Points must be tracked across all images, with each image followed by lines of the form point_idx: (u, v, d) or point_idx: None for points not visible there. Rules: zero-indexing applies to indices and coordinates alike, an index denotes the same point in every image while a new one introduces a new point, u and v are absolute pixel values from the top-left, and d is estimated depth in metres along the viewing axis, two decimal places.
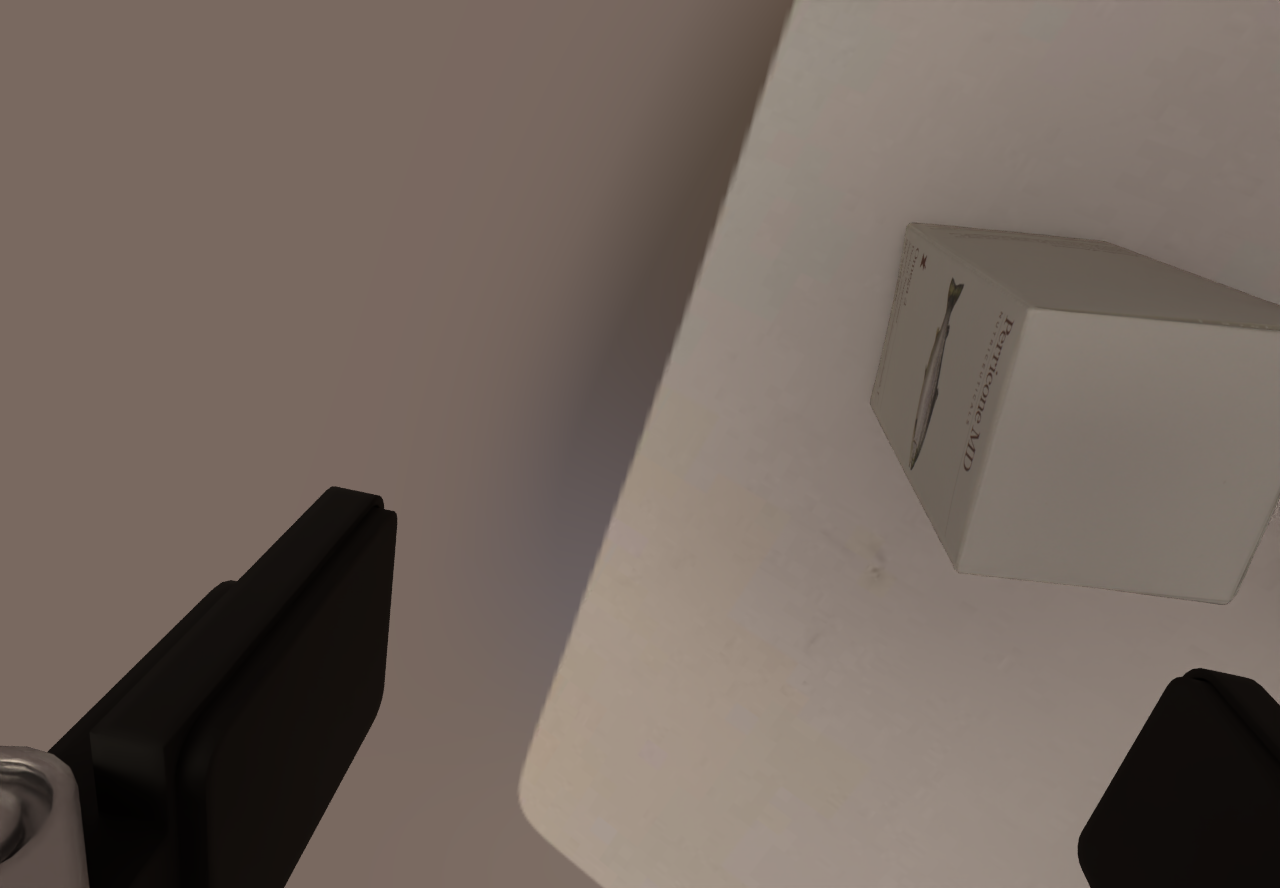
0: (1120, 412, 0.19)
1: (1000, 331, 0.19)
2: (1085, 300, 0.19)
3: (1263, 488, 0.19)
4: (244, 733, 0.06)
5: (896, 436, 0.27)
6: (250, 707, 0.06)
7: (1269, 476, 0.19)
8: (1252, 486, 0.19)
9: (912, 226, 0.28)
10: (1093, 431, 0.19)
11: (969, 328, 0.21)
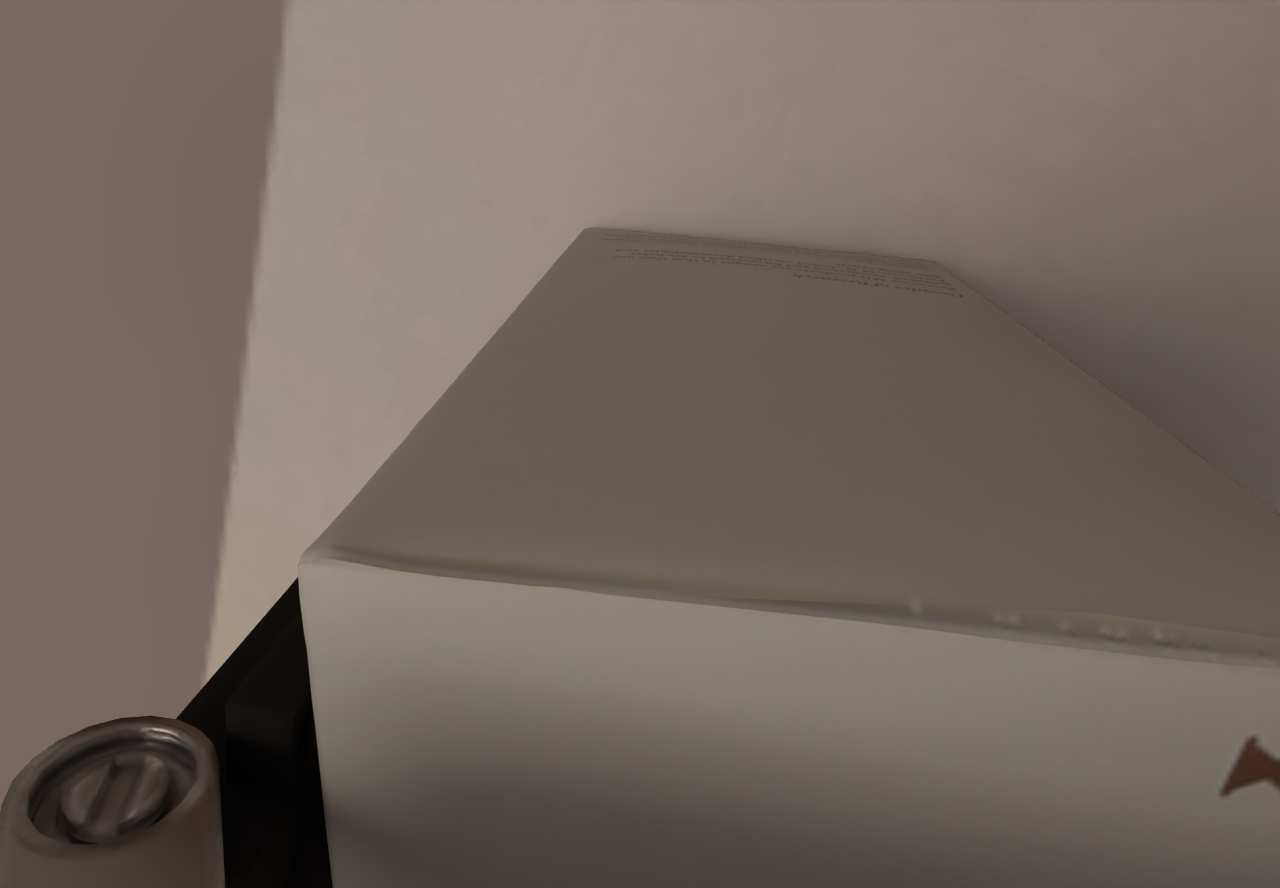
0: (686, 874, 0.06)
1: None
2: (573, 499, 0.06)
3: None
4: None
5: None
6: None
7: None
8: None
9: (579, 234, 0.15)
10: None
11: None
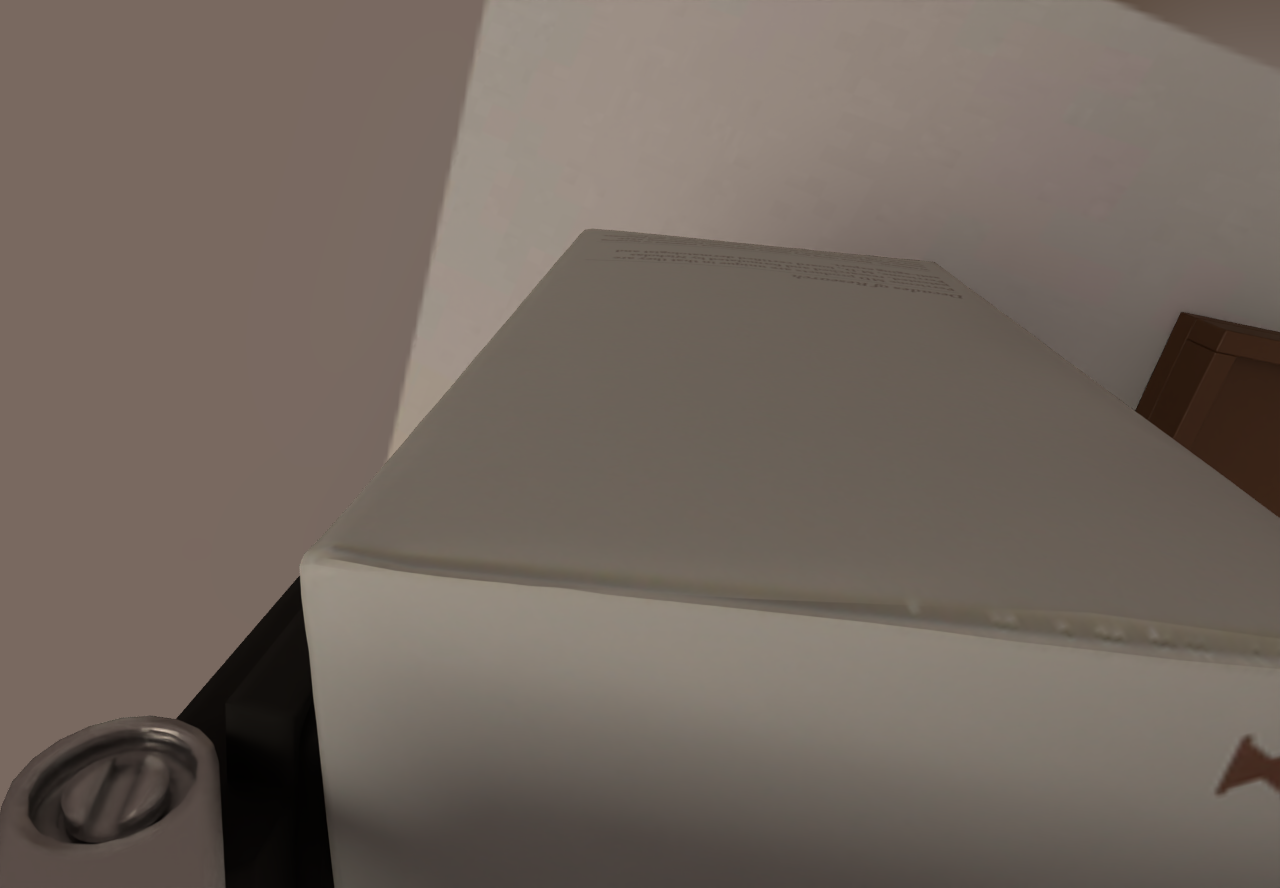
0: (684, 873, 0.06)
1: None
2: (573, 499, 0.06)
3: None
4: None
5: None
6: None
7: None
8: None
9: (579, 235, 0.15)
10: None
11: None
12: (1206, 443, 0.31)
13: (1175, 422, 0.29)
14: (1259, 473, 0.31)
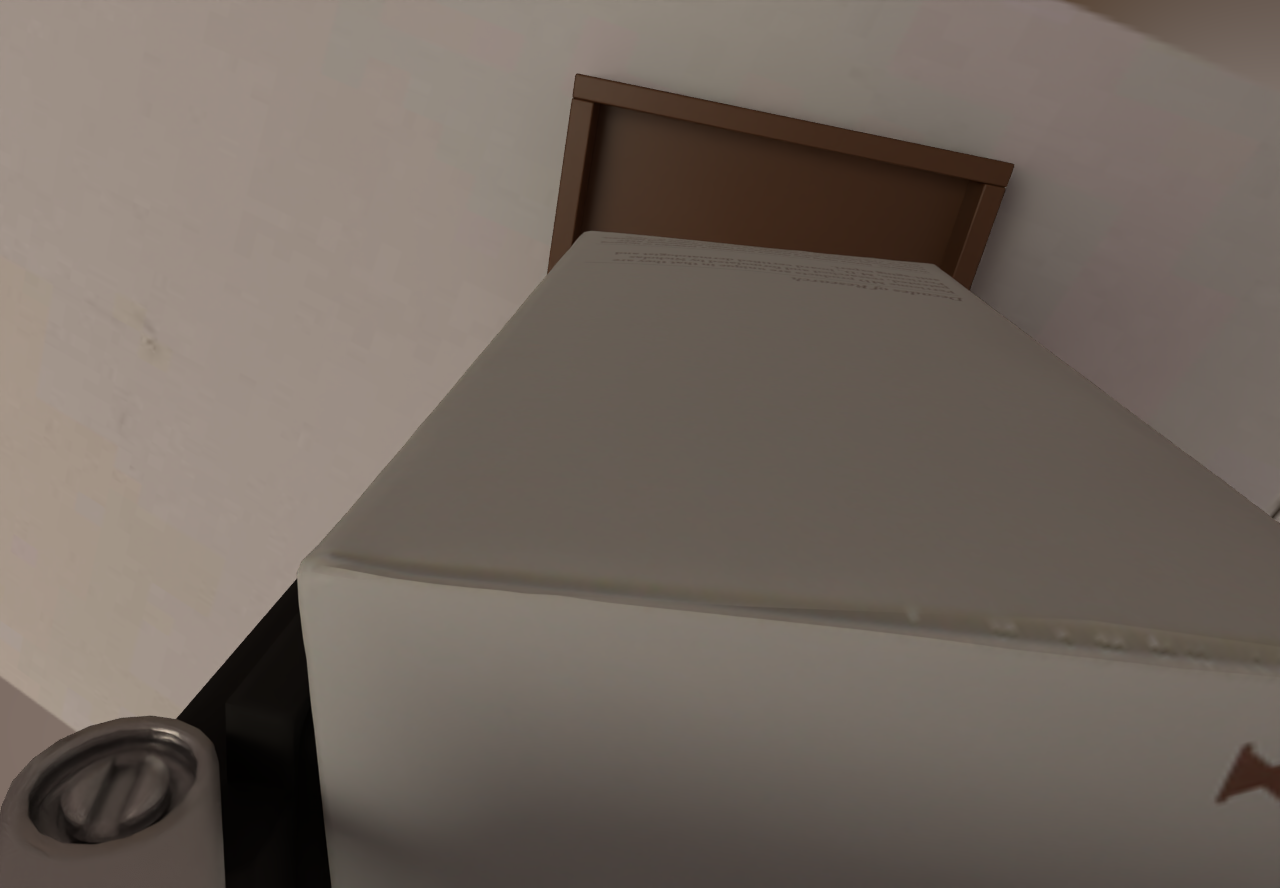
0: (684, 880, 0.06)
1: None
2: (571, 505, 0.06)
3: None
4: None
5: None
6: None
7: None
8: None
9: None
10: None
11: None
12: (627, 212, 0.31)
13: (561, 178, 0.29)
14: None
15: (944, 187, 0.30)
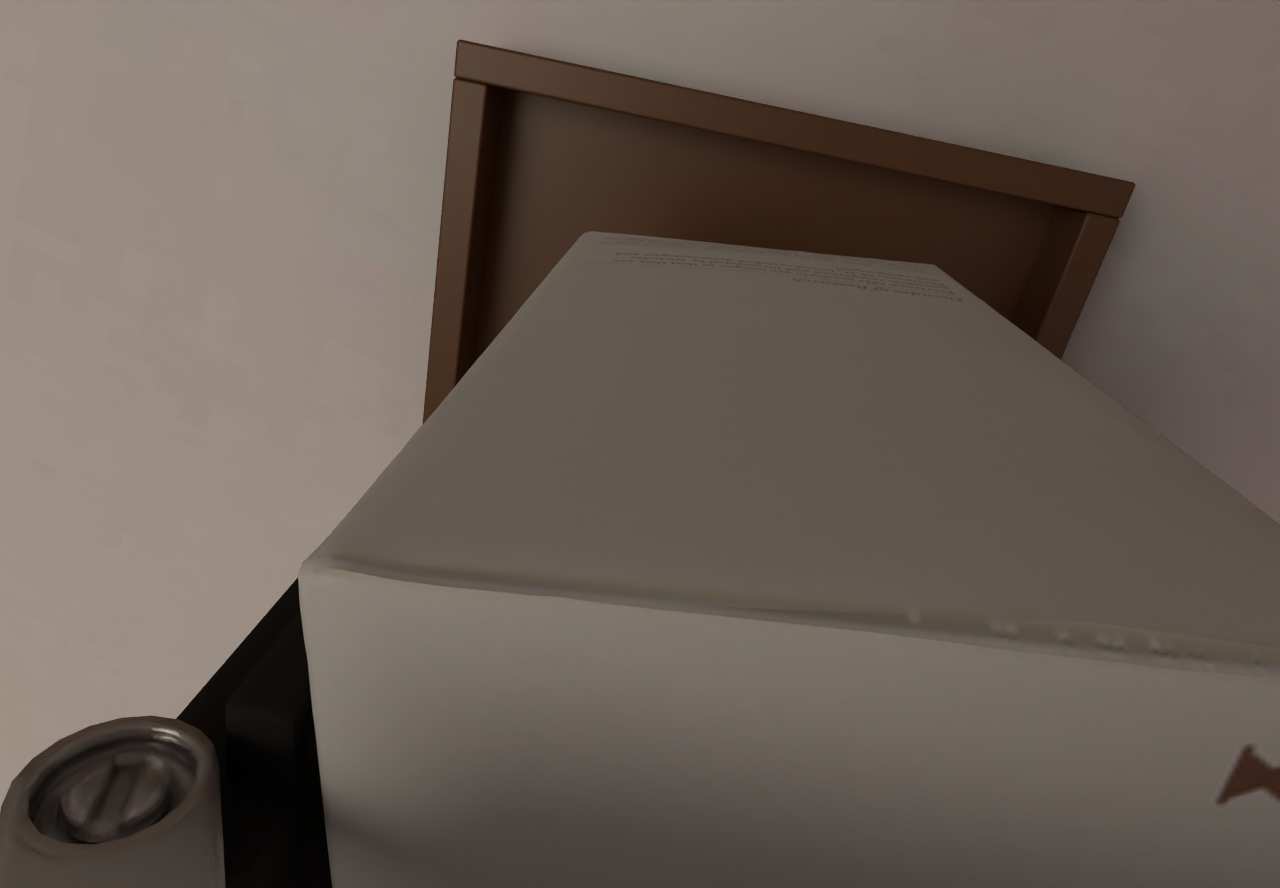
0: (686, 881, 0.06)
1: None
2: (572, 507, 0.06)
3: None
4: None
5: None
6: None
7: None
8: None
9: (579, 238, 0.15)
10: None
11: None
12: (551, 247, 0.21)
13: (445, 199, 0.20)
14: None
15: (1018, 214, 0.20)
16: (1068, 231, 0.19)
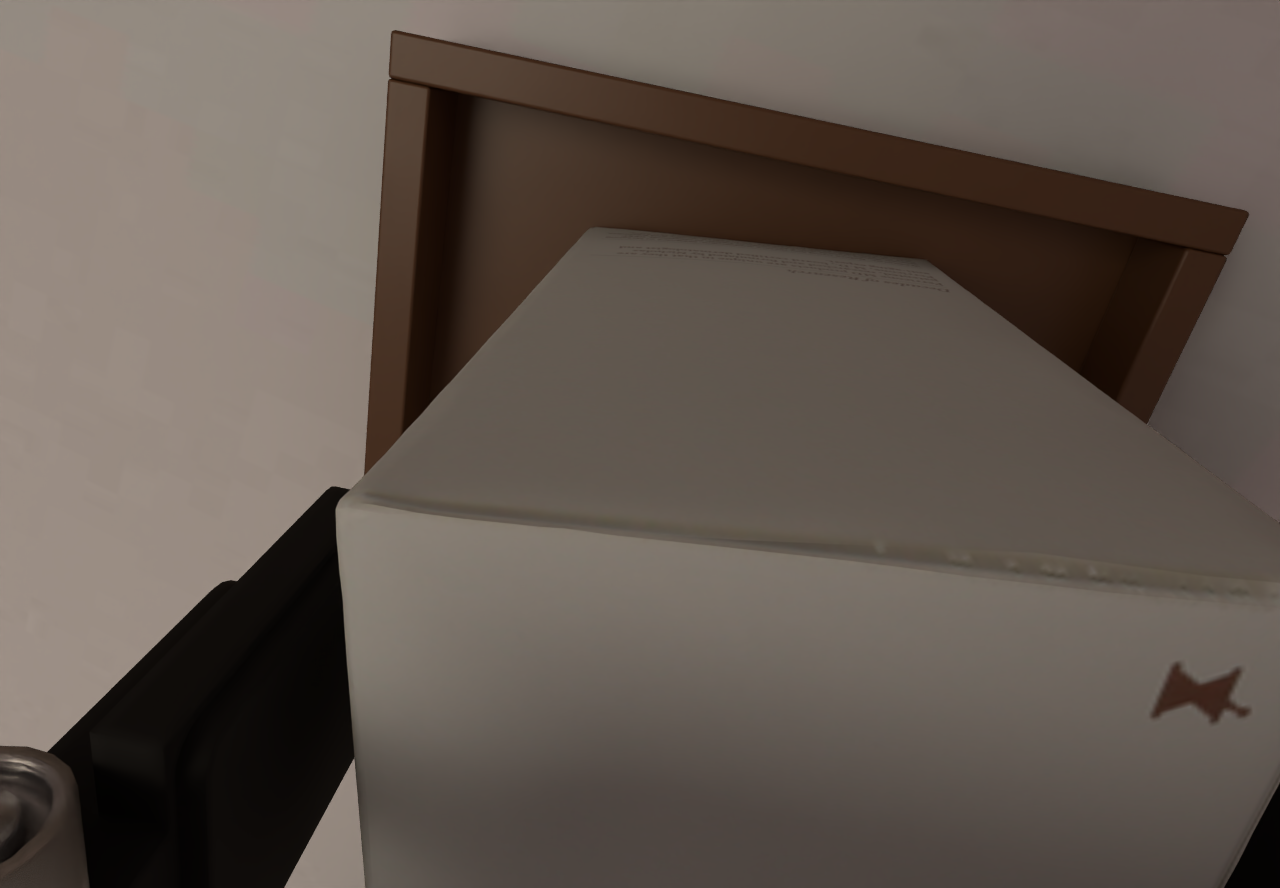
0: (677, 795, 0.06)
1: None
2: (578, 457, 0.06)
3: None
4: (244, 733, 0.06)
5: None
6: (250, 707, 0.06)
7: None
8: None
9: (584, 233, 0.16)
10: (613, 836, 0.06)
11: None
12: (517, 284, 0.18)
13: (383, 229, 0.16)
14: None
15: (1090, 247, 0.16)
16: (1158, 270, 0.15)
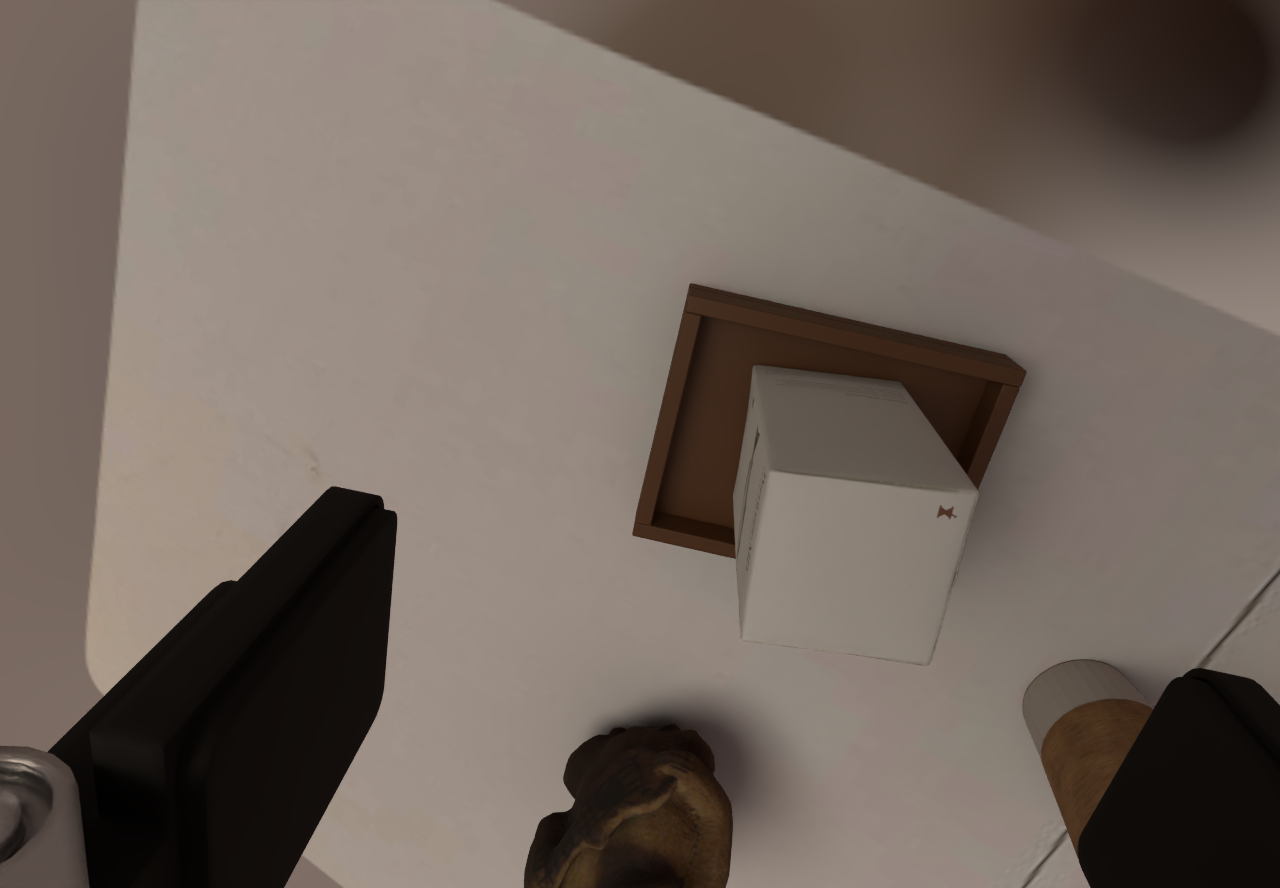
0: (835, 538, 0.28)
1: (762, 479, 0.28)
2: (813, 462, 0.28)
3: (937, 588, 0.28)
4: (243, 733, 0.06)
5: (735, 529, 0.37)
6: (249, 707, 0.06)
7: (939, 581, 0.28)
8: (929, 587, 0.28)
9: (754, 369, 0.38)
10: (820, 549, 0.28)
11: (756, 468, 0.31)
12: (718, 387, 0.39)
13: (671, 367, 0.37)
14: None
15: (970, 377, 0.38)
16: (995, 390, 0.37)
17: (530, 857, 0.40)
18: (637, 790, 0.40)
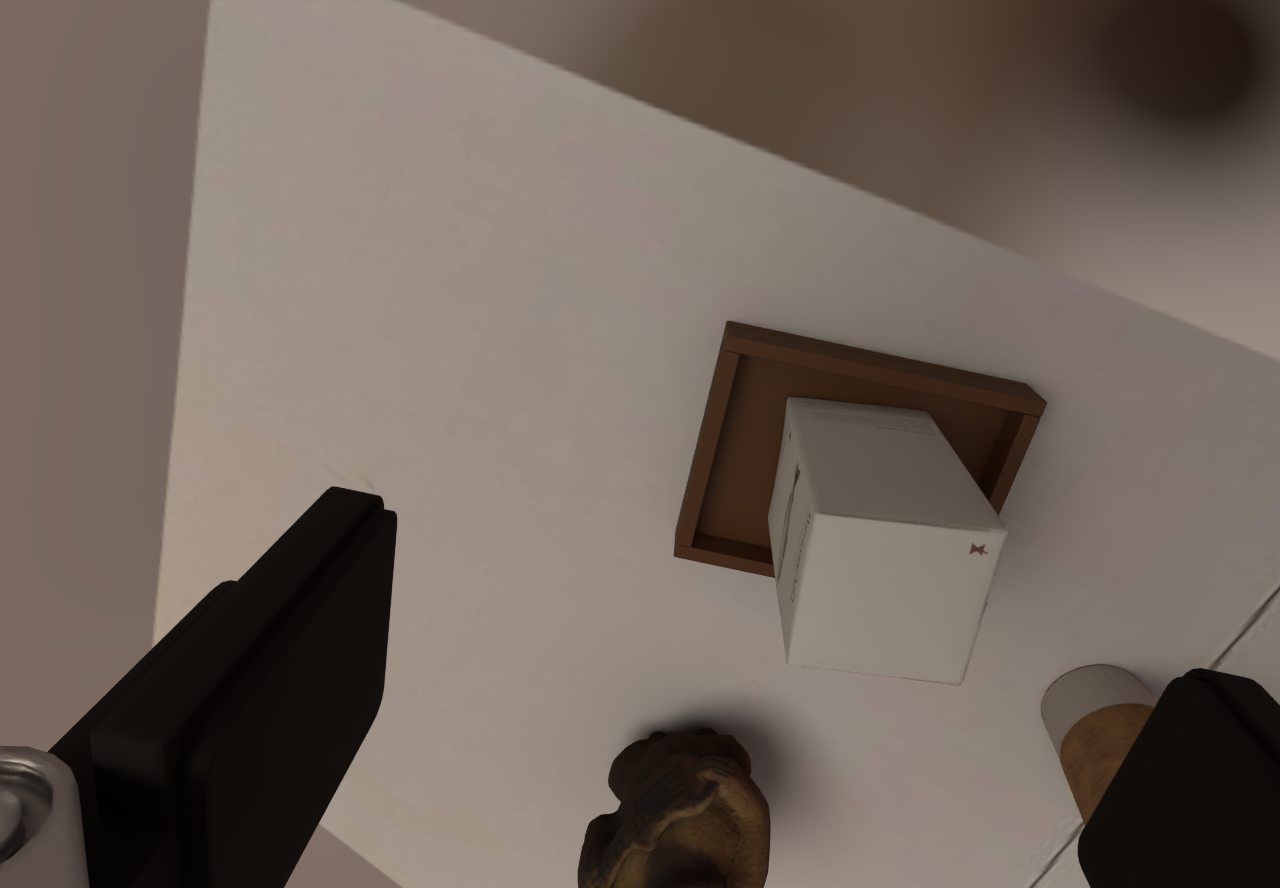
0: (876, 573, 0.30)
1: (806, 518, 0.31)
2: (855, 504, 0.30)
3: (969, 617, 0.31)
4: (244, 734, 0.06)
5: (774, 553, 0.39)
6: (250, 708, 0.06)
7: (971, 610, 0.31)
8: (961, 616, 0.31)
9: (789, 401, 0.40)
10: (861, 583, 0.30)
11: (799, 505, 0.33)
12: (754, 417, 0.42)
13: (711, 401, 0.40)
14: None
15: (993, 406, 0.40)
16: (1016, 419, 0.39)
17: (582, 857, 0.43)
18: (682, 795, 0.42)
